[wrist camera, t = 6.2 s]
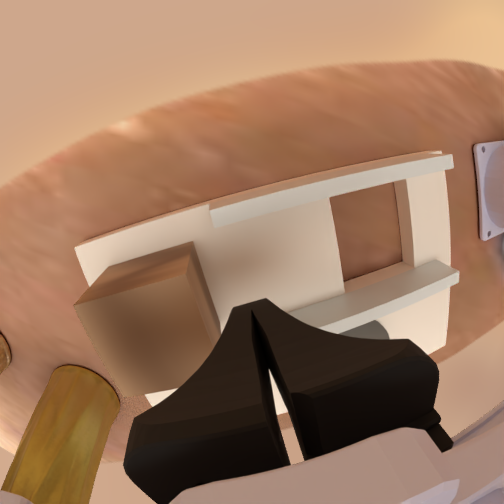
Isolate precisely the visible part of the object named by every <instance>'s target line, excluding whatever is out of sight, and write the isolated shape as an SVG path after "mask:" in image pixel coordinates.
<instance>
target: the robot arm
mask: <svg viewBox="0 0 504 504" xmlns="http://www.w3.org/2000/svg"><path fill="white" fill-rule="evenodd" d="M473 149H474V157H475V165H476V174H477V184H478V197H479V218H480V239H481V240H483V241H486V240H488V239H490V238H493V237H495V236H497V235H499V234H501V233H503V232H504V140H503V141H494V142H486V143H478V144H475V145H474V148H473ZM269 370H270V372H271V374H272V377H273V379H274V381H275V384H276V386H277V388H278V390H279V393H280V395H281V397H282V399H283V402H284V404H285V406H286V408H287V410H288V413H289V416H290V418H291V421H292V424H293V427H294V430H295V433H296V436H297V439H298V442H299V445H300V448H301V451H302V454H303V458H304V461H303V462H301V463H297V464H293V465H291V464H290V461H289V457H288V454H287V451H286V447H285V444H284V440H283V437H282V434H281V430H280V427H279V423H278V419H277V414H276V408H275V402H274V396H273V390H272V384H271V378H270V372H269ZM438 383H439V370H438V367H437V364H436V363H435V362H434V361H433V360H432V359H431V358H430V357H429V356H428V355H427V354H426V353H425V352H424V351H423V350H422V349H421V348H420V347H419V346H417V345H416V344H415V343H414V342H412V341H411V340H410V339H367V338H357V337H350V336H345V335H340V334H336V333H332V332H328V331H325V330H322V329H319V328H316V327H313V326H311V325H308V324H306V323H304V322H302V321H300V320H298V319H296V318H295V317H293V316H291V315H290V314H288V313H286V312H285V311H283V310H282V309H280V308H279V307H278V306H276V305H275V304H274V303H272V302H271V301H270V300H269V299H267V298H263V299H260V300H257V301H253V302H250V303H246V304H243V305H239V306H235V307H233V308H232V310H231V312H230V315H229V318H228V320H227V323H226V325H225V327H224V330H223V332H222V334H221V336H220V338H219V340H218V341H217V343H216V345H215V346H214V348H213V350H212V352H211V353H210V355H209V356H208V357H207V359H206V360H205V361H204V362H203V364H202V365H201V366H200V367H199V369H198V370H197V371H196V372H195V373H194V374H193V375H192V376H191V377H190V378H189V379H188V380H187V381H186V382H185V383H184V384H183V385H182V386H180V387H179V388H178V389H177V390H176V391H174V392H173V393H172V394H171V395H169V396H168V397H167V398H165V399H164V400H163V401H161V402H160V403H158V404H157V405H155V406H153V407H152V408H150V409H148V410H147V411H145V412H144V413H142V414H140V415H138V416H137V417H135V418H134V420H133V423H132V426H131V430H130V433H129V438H128V443H127V448H126V453H125V458H124V463H123V466H124V469H125V472H126V474H127V475H128V476H129V478H130V479H131V480H132V481H133V482H134V483H135V484H136V485H137V486H138V487H139V488H140V489H141V490H142V491H143V492H144V493H146V494H147V495H148V496H149V497H150V498H151V499H152V500H153V501H155V502H156V503H157V504H504V400H503V401H502V402H500V403H499V404H498V405H497V406H496V407H494V408H493V409H492V410H491V411H489V412H488V413H487V414H485V415H484V416H483V417H481V418H480V419H479V420H477V421H476V422H474V423H473V424H471V425H470V426H469V427H467V428H466V429H464V430H463V431H461V432H460V433H458V434H457V435H456V436H454V437H452V438H450V437H449V436H448V434H447V433H446V432H445V430H444V429H443V428H442V427H441V425H440V424H439V423H440V421H441V417H440V415H439V414H438V413H437V412H436V410H435V409H434V408H433V407H434V403H435V398H436V393H437V388H438ZM0 504H33V503H32V502H30V501H29V500H28V499H26V498H24V497H22V496H20V495H17V494H13V493H10V492H6V491H3V490H1V491H0Z"/></svg>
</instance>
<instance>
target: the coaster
mask: <svg viewBox="0 0 504 504" xmlns="http://www.w3.org/2000/svg"><path fill="white" fill-rule="evenodd" d="M339 334H340V335H345V336H350V337H357V338H367V339H390V338H389V334H388V332H387V330H386V329H385V328H384V327H383V326H382V325H381V324H380V323H379V322H378V321H376V320H373V321H371V322H368V323H366V324H363V325H361V326H358V327H355V328H353V329H350V330H347V331H344V332H342V333H339Z"/></svg>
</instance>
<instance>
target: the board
mask: <svg viewBox="0 0 504 504" xmlns="http://www.w3.org/2000/svg"><path fill="white" fill-rule="evenodd" d="M426 153H429V154H442V151H423V152H417V153H411V154H405V155H400V156H394V157H389V158H384V159H379V160H374V161H369V162H364V163H359V164H354V165H349V166H345V167H340V168H335V169H331V170H326V171H322V172H318V173H313V174H309V175H305V176H300V177H296V178H292V179H288V180H284V181H280V182H276V183H272V184H268V185H264V186H260V187H257V188H253V189H249V190H245V191H242V192H238V193H234V194H231V195H227V196H223V197H220V198H216V199H213V200H209V201H206V202H202V203H199V204H196V205H192V206H189V207H186V208H182V209H179V210H176V211H172V212H169V213H166V214H163V215H160V216H156V217H153V218H150V219H147V220H144V221H141V222H138V223H135V224H132V225H129V226H126V227H123V228H120V229H117V230H114V231H111V232H108V233H105V234H102V235H100V236H97V237H94V238H91V239H88V240H86V241H83V242H82V243H80V244H79V245H77V246H76V247H74V249H75V251H76V254H77V257H78V259H79V262H80V265H81V267H82V270H83V272H84V275H85V277H86V280H87V282H88V284H89V287H90V286H91V285H92V284H93V283H94V282H95V280H96V279H97V278H98V277H99V276H100V275H101V274H102V273H103V272H104V271H105V269H106V268H107V267H108V266H112V265H115V264H118V263H121V262H124V261H128V260H131V259H134V258H137V257H141V256H144V255H147V254H151V253H154V252H157V251H160V250H164V249H167V248H170V247H174V246H177V245H181V244H184V243H187V242H191V241H193V242H194V246H195V249H196V252H197V255H198V258H199V261H200V264H201V267H202V271H203V274H204V277H205V280H206V283H207V286H208V289H209V292H210V295H211V298H212V300H213V303H214V306H215V309H216V312H217V315H218V318H219V321H220V326H221V334H222V332H223V330H224V327H225V325H226V323H227V320H228V318H229V315H230V312H231V310H232V308H233V307H235V306H239V305H243V304H246V303H250V302H253V301H257V300H260V299H263V298H267V299H269V300H270V301H271V302H272V303H274V304H275V305H276V306H278V307H279V308H280V309H282V310H283V311H285V312H286V313H288V312H291V311H294V310H297V309H301V308H304V307H307V306H310V305H313V304H316V303H319V302H322V301H325V300H328V299H331V298H334V297H337V296H340V295H343V294H346V293H349V292H352V291H354V290H357V289H360V288H363V287H366V286H368V285H371V284H374V283H377V282H379V281H382V280H385V279H388V278H390V277H393V276H395V275H398V274H401V273H403V272H406V271H408V270H411V269H414V268H416V267H419V266H421V265H424V264H426V263H429V262H431V261H433V260H438V261H440V262H442V263H444V264H446V265H448V266H450V267H451V248H450V221H449V207H448V195H447V186H446V177H445V170H443V171H438V172H434V173H429V174H425V175H420V176H416V177H411V178H407V179H403V180H398V181H394V187H395V194H396V201H397V209H398V217H399V226H400V236H401V247H402V260H403V261H402V262H399V263H397V264H394V265H391V266H388V267H386V268H383V269H380V270H377V271H374V272H371V273H369V274H366V275H363V276H360V277H357V278H354V279H351V280H348V281H345V282H343V276H342V269H341V262H340V256H339V250H338V244H337V238H336V232H335V227H334V221H333V216H332V210H331V205H330V200H329V197H328V198H325V199H321V200H317V201H313V202H309V203H305V204H301V205H298V206H294V207H290V208H286V209H282V210H279V211H275V212H271V213H268V214H264V215H260V216H257V217H253V218H249V219H246V220H242V221H239V222H235V223H232V224H228V225H224V226H221V227H217V228H214V225H213V222H212V218H211V215H210V211H209V204H210V203H213V202H217V201H221V200H224V199H228V198H231V197H235V196H239V195H242V194H246V193H250V192H253V191H257V190H261V189H265V188H269V187H273V186H276V185H280V184H284V183H288V182H293V181H297V180H301V179H305V178H309V177H313V176H318V175H322V174H326V173H331V172H335V171H340V170H344V169H349V168H353V167H358V166H363V165H368V164H373V163H378V162H383V161H388V160H393V159H398V158H403V157H409V156H414V155H420V154H426ZM449 299H450V287H448V288H446V289H444V290H442V291H440V292H438V293H436V294H434V295H432V296H429V297H427V298H425V299H423V300H421V301H418V302H416V303H414V304H412V305H409V306H407V307H405V308H402V309H400V310H398V311H395V312H393V313H391V314H388V315H386V316H383V317H381V318H378V319H376V321H378V322H379V323H380V324H381V325H382V326H383V327H384V328H385V329H386V330H387V332H388V334H389V338H390V339H410V340H411V341H412V342H414V343H415V344H416V345H417V346H419V347H420V348H421V349H422V350H423V351H424V352H425V353H426V354H427V355H428V354H430V353H432V352H434V351H436V350H437V349H439V348H441V347H443V346H445V344H446V335H447V325H448V314H449ZM269 372H270V370H269ZM270 378H271V384H272V390H273V396H274V402H275V408H276V414H277V415H278V414H282V413H285V412H288V410H287V408H286V406H285V404H284V402H283V399H282V397H281V395H280V393H279V390H278V388H277V386H276V384H275V381H274V379H273V377H272V374H271V372H270ZM177 389H178V388H177ZM177 389H172V390H167V391H161V392H156V393H150V394H145V396H146V397H147V399H148V401H149V402H150V404H151V405H152V407H153V406H155V405H157V404H158V403H160V402H161V401H163V400H164V399H165V398H167V397H168V396H169V395H171V394H172V393H173V392H174V391H176V390H177Z"/></svg>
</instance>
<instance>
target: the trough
mask: <svg viewBox="0 0 504 504" xmlns="http://www.w3.org/2000/svg"><path fill="white" fill-rule="evenodd" d="M452 168H454V164H453V157H452V154H429V153H426V154H420V155H414V156H409V157H403V158H398V159H393V160H388V161H383V162H378V163H373V164H368V165H363V166H358V167H353V168H349V169H344V170H340V171H335V172H331V173H326V174H322V175H318V176H313V177H309V178H305V179H301V180H297V181H293V182H288V183H284V184H280V185H276V186H273V187H269V188H265V189H261V190H257V191H253V192H250V193H246V194H242V195H239V196H235V197H231V198H228V199H224V200H221V201H217V202H213V203H210V204H209V211H210V215H211V218H212V222H213V225H214V228H217V227H221V226H224V225H228V224H232V223H235V222H239V221H242V220H246V219H249V218H253V217H257V216H260V215H264V214H268V213H271V212H275V211H279V210H282V209H286V208H290V207H294V206H298V205H301V204H305V203H309V202H313V201H317V200H321V199H325V198H328V197H332V196H336V195H340V194H344V193H348V192H352V191H356V190H361V189H365V188H369V187H373V186H377V185H381V184H386V183H390V182H394V181H398V180H403V179H407V178H411V177H416V176H420V175H425V174H429V173H434V172H438V171H443V170H448V169H452ZM457 283H459V271H458V270H456V269H454V268H452V267H450V266H448V265H446V264H444V263H442V262H440V261H438V260H433V261H431V262H429V263H426V264H424V265H421V266H419V267H416V268H414V269H411V270H408V271H406V272H403V273H401V274H398V275H395V276H393V277H390V278H388V279H385V280H382V281H379V282H377V283H374V284H371V285H368V286H366V287H363V288H360V289H357V290H354V291H352V292H349V293H346V294H343V295H340V296H337V297H334V298H331V299H328V300H325V301H322V302H319V303H316V304H313V305H310V306H307V307H304V308H301V309H297V310H294V311H291V312H288V314H290V315H291V316H293V317H295V318H296V319H298V320H300V321H302V322H304V323H306V324H308V325H311V326H313V327H316V328H319V329H322V330H325V331H328V332H332V333H336V334H339V333H342V332H344V331H347V330H350V329H353V328H355V327H358V326H361V325H363V324H366V323H368V322H371V321H373V320H376V319H378V318H381V317H383V316H386V315H388V314H391V313H393V312H395V311H398V310H400V309H402V308H405V307H407V306H409V305H412V304H414V303H416V302H418V301H421V300H423V299H425V298H427V297H429V296H432V295H434V294H436V293H438V292H440V291H442V290H444V289H446V288H448V287H451V286H453V285H455V284H457Z"/></svg>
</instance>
